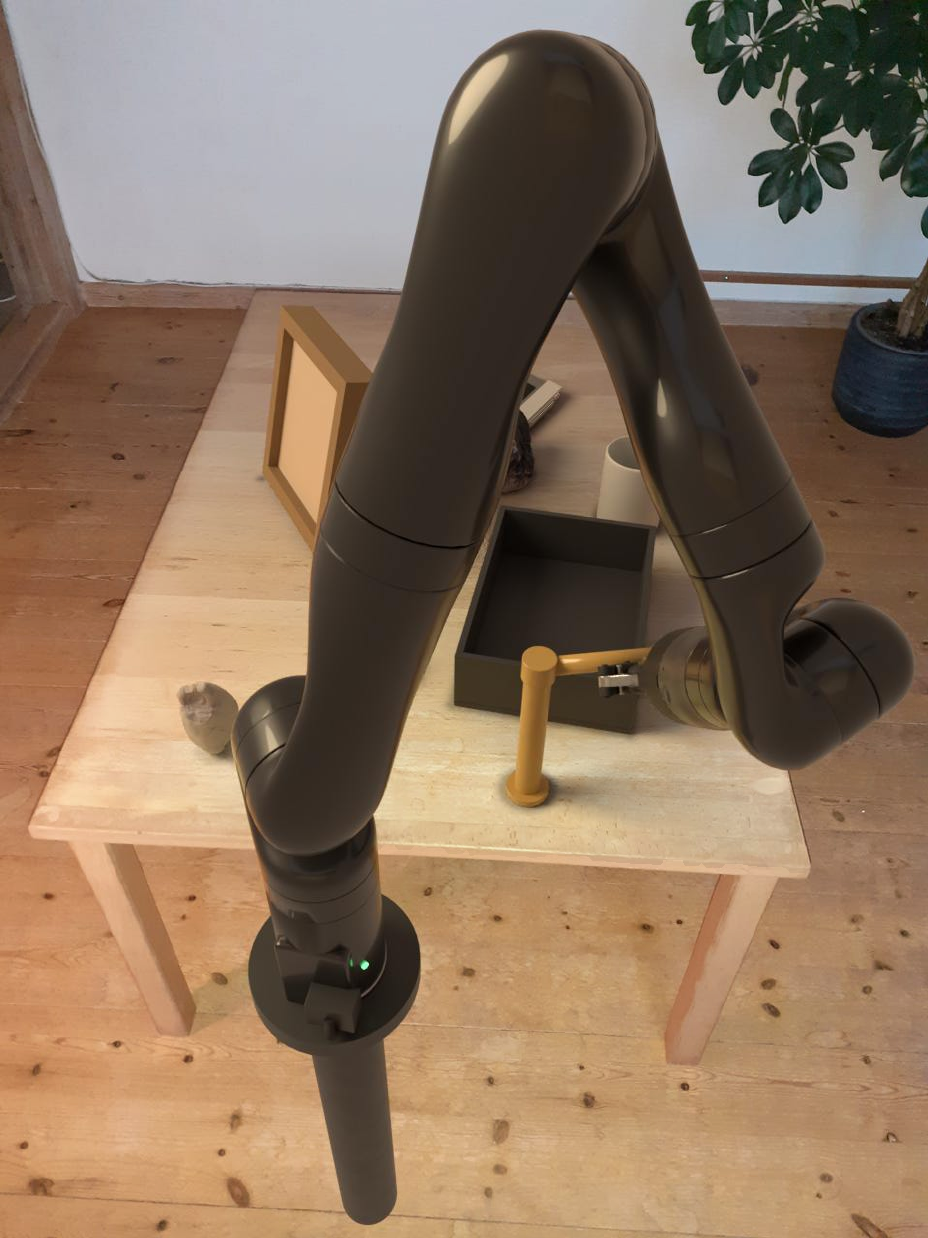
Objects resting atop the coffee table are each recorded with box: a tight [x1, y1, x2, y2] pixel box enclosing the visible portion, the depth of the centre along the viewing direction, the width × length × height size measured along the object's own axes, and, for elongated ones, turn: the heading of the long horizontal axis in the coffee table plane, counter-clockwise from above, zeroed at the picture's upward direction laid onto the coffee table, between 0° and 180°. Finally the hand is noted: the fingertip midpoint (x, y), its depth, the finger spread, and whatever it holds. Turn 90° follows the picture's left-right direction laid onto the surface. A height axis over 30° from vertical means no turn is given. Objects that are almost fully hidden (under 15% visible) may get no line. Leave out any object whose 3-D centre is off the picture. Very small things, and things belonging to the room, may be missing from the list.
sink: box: [453, 504, 657, 735], centre depth 115 cm, size 28×20×8 cm
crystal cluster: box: [502, 410, 536, 493], centre depth 140 cm, size 13×14×10 cm
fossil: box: [176, 681, 240, 755], centre depth 101 cm, size 6×4×10 cm, turn 111°
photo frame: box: [261, 304, 373, 553], centre depth 127 cm, size 15×22×25 cm
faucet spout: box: [521, 646, 653, 689], centre depth 90 cm, size 16×3×5 cm, turn 98°
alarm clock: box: [520, 373, 563, 430], centre depth 155 cm, size 17×5×16 cm
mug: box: [596, 435, 661, 530], centre depth 131 cm, size 12×8×11 cm
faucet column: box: [505, 683, 551, 808], centre depth 95 cm, size 4×4×17 cm
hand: (641, 673), depth 89 cm, fingers closed
